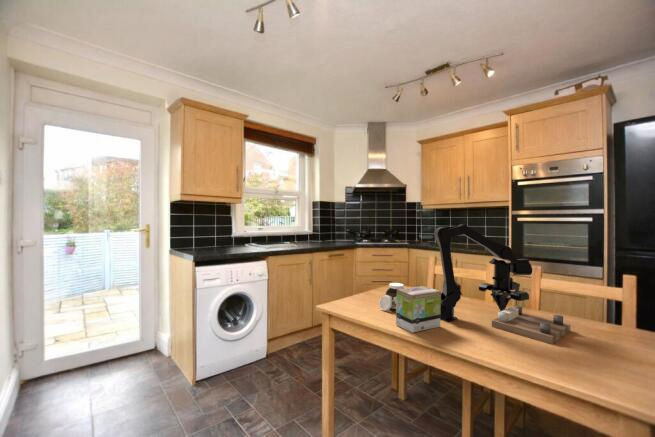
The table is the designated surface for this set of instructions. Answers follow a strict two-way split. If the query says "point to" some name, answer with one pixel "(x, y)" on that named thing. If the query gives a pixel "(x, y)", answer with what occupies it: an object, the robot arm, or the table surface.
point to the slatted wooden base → (535, 326)
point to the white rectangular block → (507, 314)
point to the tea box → (418, 308)
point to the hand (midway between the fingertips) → (502, 311)
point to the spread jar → (390, 297)
